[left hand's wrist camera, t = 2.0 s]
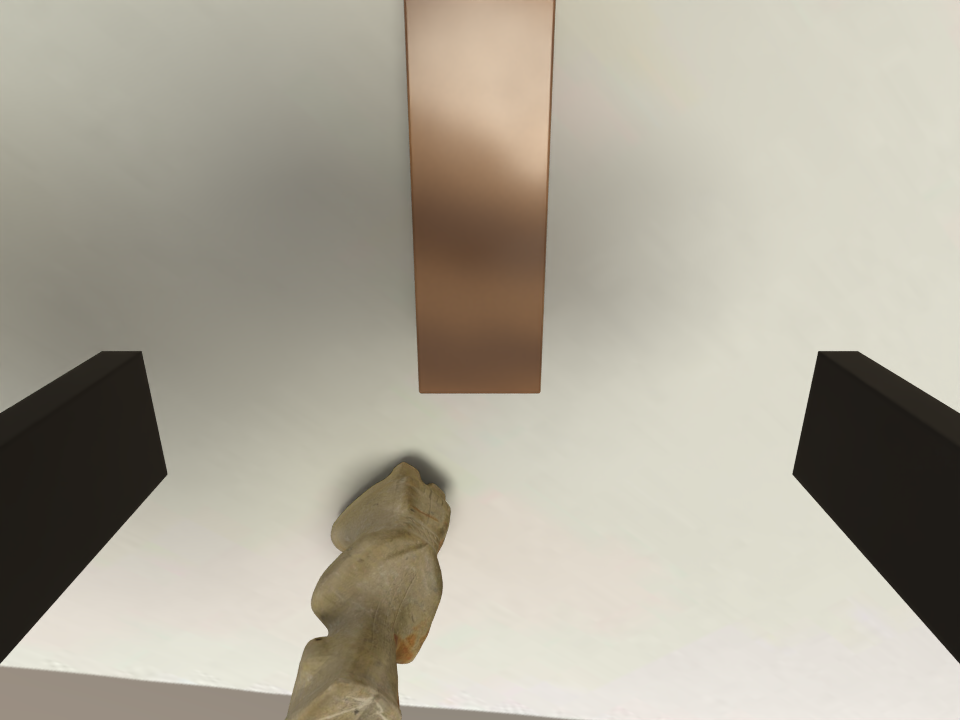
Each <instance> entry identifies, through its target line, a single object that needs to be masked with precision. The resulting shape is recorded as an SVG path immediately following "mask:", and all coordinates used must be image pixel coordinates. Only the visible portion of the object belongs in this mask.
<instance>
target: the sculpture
mask: <svg viewBox="0 0 960 720" xmlns="http://www.w3.org/2000/svg"><path fill="white" fill-rule="evenodd" d="M450 513H451V510H450V507H449V505H448V503H447V502H446V501H445V494H444V492H443V491H442V490H441V489H440V488H439V487H438V486H437V485H435V484H434V483H429V484H427V485H426V484H424V483H423V482H422V480H421V477H420V474H419V471H418V470H417V469H415V468H414V467H413V466H411V465H409V464H408V463H405V462H402V463H400V464H399V465H397V466H396V467H395V468H394V469H393V471H392V473H391V474H390V475H389V476H388V477H387V478H385V479H384V480H382V481H380V482H379V483H376V484H375V485H373V486H372V487H370V488H369V489H368V490H367V491H365V492H364V493H363V494H362V495H361V496H359V497H358V498H357V499H356V500H355V501H354V502H352V503H351V504H350V505H349V506H348V507H347V508H346V509H345V511H344V512H343V513H342V514H341V515H340V516H339V517H338V519H337V520H336V521H335V523H334V524H333V526H332V531H331V540H332V542H333V544H334V545H335V546H336V548H338V549H339V550H340V551H342V553H341V554H340V556H339V557H338V558H337V559H336V560H335V561H334V562H333V563H332V564H331V565H330V566H329V567H328V568H327V569H326V570H325V572H324V573H323V575H322V576H321V577H320V579H319V581H318V583H317V585H316V587H315V590H314V592H313V595H312V599H311V607H312V610H313V612H314V614H315V615H316V616H317V617H318V618H319V619H320V621H321V622H322V623H323V624H324V625H325V626H326V628H327V629H328V632H329V633H328V636H327V637H318V638H314V639H312V640H310V641H309V642H308V643H307V645H306V646H305V649H304V651H303V654H302V658H301V661H300V665H299V669H298V674H297V678H296V681H295V685H294V689H293V693H292V696H291V700H290V705H289V709H288V714H287V717H286V719H285V720H401V719H402V714H401V710H400V708H399V696H398V674H397V664H396V663H398V664H407V663H410V662H411V661H413V660H414V658H415V657H416V655H417V653H418V652H419V650H420V648H421V646H422V644H423V642H424V641H425V639H426V637H427V635H428V633H429V630H430V627H431V623H432V621H433V619H434V616H435V613H436V611H437V608H438V605H439V603H440V600H441V596H442V589H443V581H442V574H441V569H440V566H439V562H438V559H437V554H438V552H439V550H440V548H441V547H442V545H443V542H444V539H445V536H446V534H447V530H448V527H449V522H450Z"/></svg>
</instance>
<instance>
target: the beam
mask: <svg viewBox="0 0 960 720" xmlns="http://www.w3.org/2000/svg"><path fill="white" fill-rule="evenodd" d="M555 5H556V0H404V19H405V45H406V70H407V96H408V121H409V147H410V173H411V198H412V224H413V249H414V275H415V301H416V326H417V352H418V377H419V392H420V393H540V391H541V366H542V340H543V314H544V288H545V263H546V237H547V211H548V185H549V159H550V134H551V108H552V82H553V56H554V30H555Z"/></svg>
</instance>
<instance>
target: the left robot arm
mask: <svg viewBox="0 0 960 720" xmlns="http://www.w3.org/2000/svg"><path fill="white" fill-rule="evenodd" d="M166 476H167V469H166V464H165V460H164V455H163V450H162V445H161V441H160V436H159V431H158V426H157V422H156V417H155V412H154V408H153V403H152V398H151V393H150V389H149V384H148V379H147V374H146V370H145V365H144V360H143V356H142V351H102V352H100V353H98V354H97V355H95V356H94V357H92V358H90V359H89V360H87V361H85V362H84V363H82V364H80V365H79V366H77V367H75V368H74V369H72V370H71V371H69V372H67V373H66V374H64V375H62V376H61V377H59V378H57V379H56V380H54V381H53V382H51V383H49V384H48V385H46V386H44V387H43V388H41V389H39V390H38V391H36V392H34V393H33V394H31V395H30V396H28V397H26V398H25V399H23V400H21V401H20V402H18V403H16V404H15V405H13V406H12V407H10V408H8V409H7V410H5V411H3V412H2V413H0V663H1V662H2V661H3V660H4V659H5V658H6V657H7V655H8V654H9V653H10V652H11V651H12V650H13V649H14V648H15V646H16V645H17V644H18V643H19V642H20V641H21V640H22V638H23V637H24V636H25V635H26V634H27V633H28V632H29V631H30V629H31V628H32V627H33V626H34V625H35V624H36V623H37V622H38V620H39V619H40V618H41V617H42V616H43V615H44V614H45V612H46V611H47V610H48V609H49V608H50V607H51V606H52V605H53V603H54V602H55V601H56V600H57V599H58V598H59V597H60V595H61V594H62V593H63V592H64V591H65V590H66V589H67V588H68V586H69V585H70V584H71V583H72V582H73V581H74V580H75V579H76V577H77V576H78V575H79V574H80V573H81V572H82V571H83V569H84V568H85V567H86V566H87V565H88V564H89V563H90V562H91V560H92V559H93V558H94V557H95V556H96V555H97V554H98V552H99V551H100V550H101V549H102V548H103V547H104V546H105V545H106V543H107V542H108V541H109V540H110V539H111V538H112V537H113V536H114V534H115V533H116V532H117V531H118V530H119V529H120V528H121V526H122V525H123V524H124V523H125V522H126V521H127V520H128V519H129V517H130V516H131V515H132V514H133V513H134V512H135V511H136V509H137V508H138V507H139V506H140V505H141V504H142V503H143V502H144V500H145V499H146V498H147V497H148V496H149V495H150V494H151V493H152V491H153V490H154V489H155V488H156V487H157V486H158V485H159V483H160V482H161V481H162V480H163V479H164V478H165V477H166ZM793 476H794V477H795V478H796V479H797V480H798V481H799V482H800V483H801V485H802V486H803V487H804V488H805V489H806V490H807V491H808V493H809V494H810V495H811V496H812V497H813V498H814V499H815V500H816V502H817V503H818V504H819V505H820V506H821V507H822V508H823V509H824V511H825V512H826V513H827V514H828V515H829V516H830V517H831V519H832V520H833V521H834V522H835V523H836V524H837V525H838V526H839V528H840V529H841V530H842V531H843V532H844V533H845V534H846V536H847V537H848V538H849V539H850V540H851V541H852V542H853V543H854V545H855V546H856V547H857V548H858V549H859V550H860V551H861V552H862V554H863V555H864V556H865V557H866V558H867V559H868V560H869V562H870V563H871V564H872V565H873V566H874V567H875V568H876V569H877V571H878V572H879V573H880V574H881V575H882V576H883V577H884V579H885V580H886V581H887V582H888V583H889V584H890V585H891V586H892V588H893V589H894V590H895V591H896V592H897V593H898V594H899V595H900V597H901V598H902V599H903V600H904V601H905V602H906V603H907V605H908V606H909V607H910V608H911V609H912V610H913V611H914V612H915V614H916V615H917V616H918V617H919V618H920V619H921V620H922V622H923V623H924V624H925V625H926V626H927V627H928V628H929V629H930V631H931V632H932V633H933V634H934V635H935V636H936V637H937V638H938V640H939V641H940V642H941V643H942V644H943V645H944V646H945V648H946V649H947V650H948V651H949V652H950V653H951V654H952V655H953V657H954V658H955V659H956V660H957V661H958V662H959V663H960V413H958V412H957V411H955V410H953V409H952V408H950V407H948V406H947V405H945V404H944V403H942V402H940V401H939V400H937V399H935V398H934V397H932V396H930V395H929V394H927V393H926V392H924V391H922V390H921V389H919V388H917V387H916V386H914V385H912V384H911V383H909V382H907V381H906V380H904V379H903V378H901V377H899V376H898V375H896V374H894V373H893V372H891V371H889V370H888V369H886V368H885V367H883V366H881V365H880V364H878V363H876V362H875V361H873V360H871V359H870V358H868V357H866V356H865V355H863V354H862V353H860V352H858V351H818V356H817V360H816V365H815V370H814V374H813V379H812V384H811V389H810V393H809V398H808V403H807V408H806V412H805V417H804V422H803V426H802V431H801V436H800V441H799V445H798V450H797V455H796V460H795V464H794V469H793Z"/></svg>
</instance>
